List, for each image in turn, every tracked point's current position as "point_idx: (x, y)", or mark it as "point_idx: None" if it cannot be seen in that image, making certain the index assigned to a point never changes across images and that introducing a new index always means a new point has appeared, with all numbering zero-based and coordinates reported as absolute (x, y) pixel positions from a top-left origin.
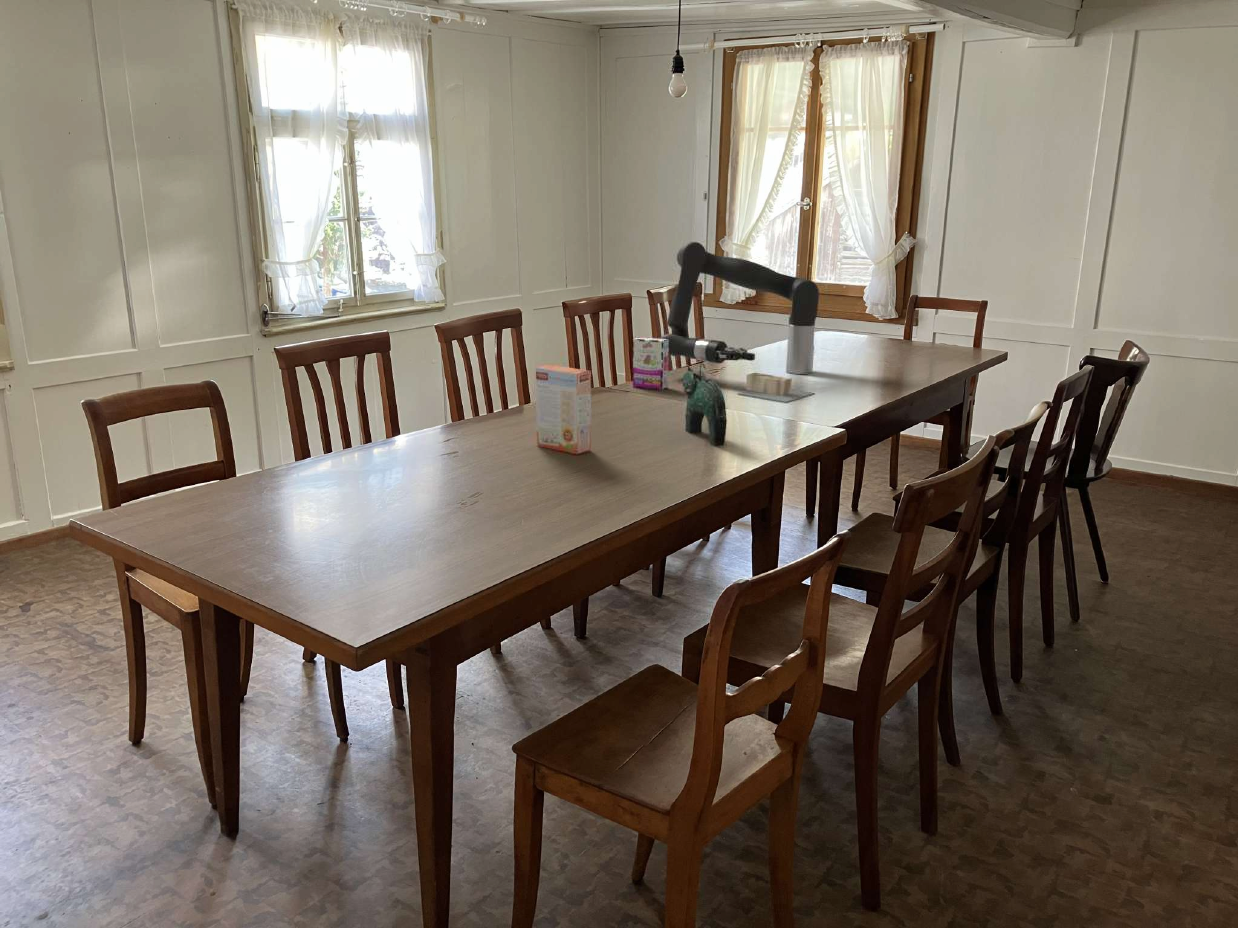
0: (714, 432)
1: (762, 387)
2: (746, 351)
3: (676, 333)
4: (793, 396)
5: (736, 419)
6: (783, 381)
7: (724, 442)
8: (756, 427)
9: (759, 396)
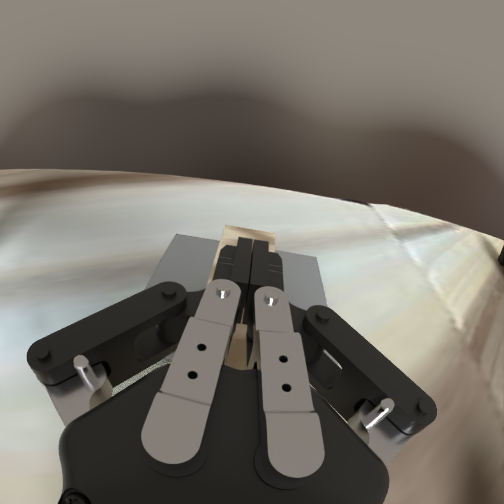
0: None
1: None
2: (178, 286)
3: None
4: None
5: (463, 281)
6: (273, 235)
7: (499, 256)
8: (453, 255)
9: None
